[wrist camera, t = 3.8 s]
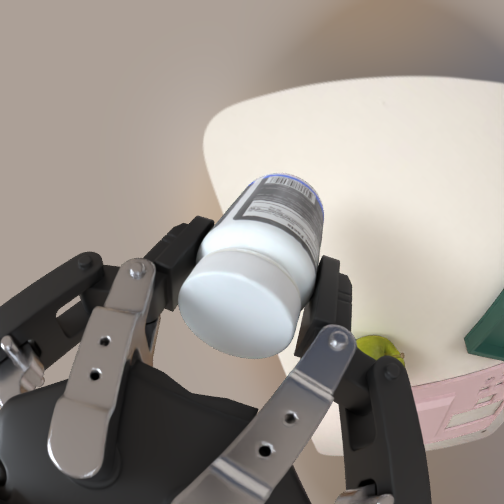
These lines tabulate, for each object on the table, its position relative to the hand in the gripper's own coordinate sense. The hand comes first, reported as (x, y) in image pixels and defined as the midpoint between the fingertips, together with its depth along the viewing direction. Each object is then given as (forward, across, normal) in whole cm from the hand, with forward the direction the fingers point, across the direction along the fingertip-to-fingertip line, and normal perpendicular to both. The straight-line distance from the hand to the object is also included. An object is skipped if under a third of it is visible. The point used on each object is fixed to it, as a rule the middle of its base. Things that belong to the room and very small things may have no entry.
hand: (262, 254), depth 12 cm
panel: (+11, -41, +33) cm, 54 cm away
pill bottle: (+5, 0, 0) cm, 5 cm away
